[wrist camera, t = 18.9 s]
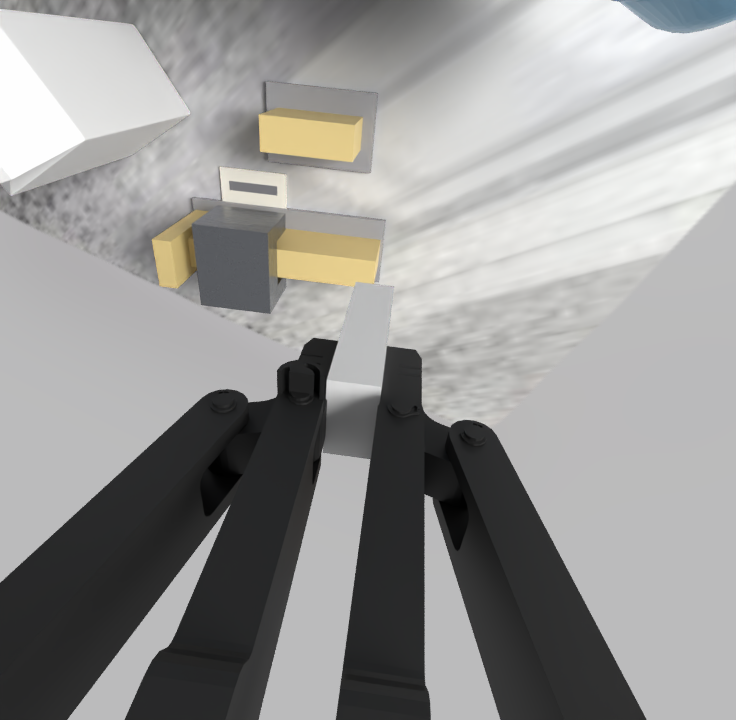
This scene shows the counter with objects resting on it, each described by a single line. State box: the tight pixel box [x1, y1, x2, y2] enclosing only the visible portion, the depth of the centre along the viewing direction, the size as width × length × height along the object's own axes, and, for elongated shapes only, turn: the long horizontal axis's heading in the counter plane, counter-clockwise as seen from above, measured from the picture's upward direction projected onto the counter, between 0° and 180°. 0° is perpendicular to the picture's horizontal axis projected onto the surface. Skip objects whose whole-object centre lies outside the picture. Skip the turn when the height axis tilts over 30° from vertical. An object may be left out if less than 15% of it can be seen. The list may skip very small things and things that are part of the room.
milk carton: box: [0, 9, 190, 196], centre depth 31 cm, size 7×7×19 cm
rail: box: [152, 197, 386, 288], centre depth 41 cm, size 6×18×9 cm, turn 85°
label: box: [220, 166, 287, 209], centre depth 42 cm, size 3×6×1 cm, turn 85°
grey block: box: [191, 205, 286, 314], centre depth 40 cm, size 7×6×6 cm
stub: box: [259, 81, 378, 173], centre depth 37 cm, size 6×9×6 cm, turn 85°
